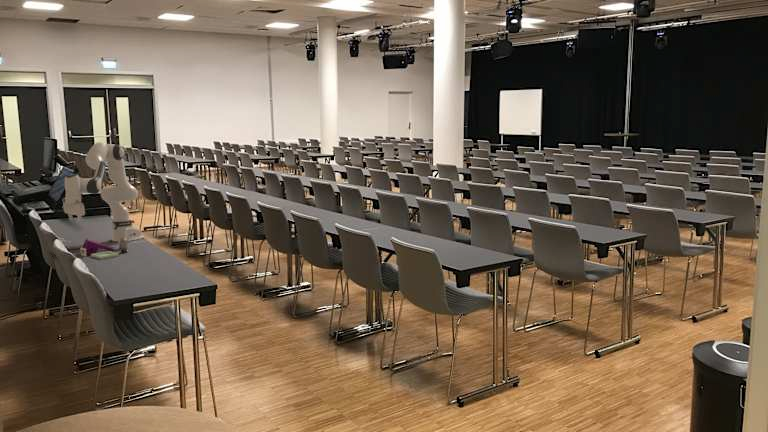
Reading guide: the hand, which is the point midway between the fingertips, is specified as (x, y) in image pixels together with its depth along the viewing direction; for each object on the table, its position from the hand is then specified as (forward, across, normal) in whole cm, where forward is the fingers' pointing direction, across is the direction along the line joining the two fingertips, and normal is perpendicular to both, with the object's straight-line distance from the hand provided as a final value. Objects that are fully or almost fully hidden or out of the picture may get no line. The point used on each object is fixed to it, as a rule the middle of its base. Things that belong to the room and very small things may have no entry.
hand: (75, 221), depth 404 cm
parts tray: (+23, -12, -11) cm, 28 cm away
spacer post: (+23, -12, -25) cm, 36 cm away
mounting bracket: (+23, +2, -15) cm, 28 cm away
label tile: (+23, 0, -4) cm, 23 cm away
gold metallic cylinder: (+23, 0, -31) cm, 39 cm away
